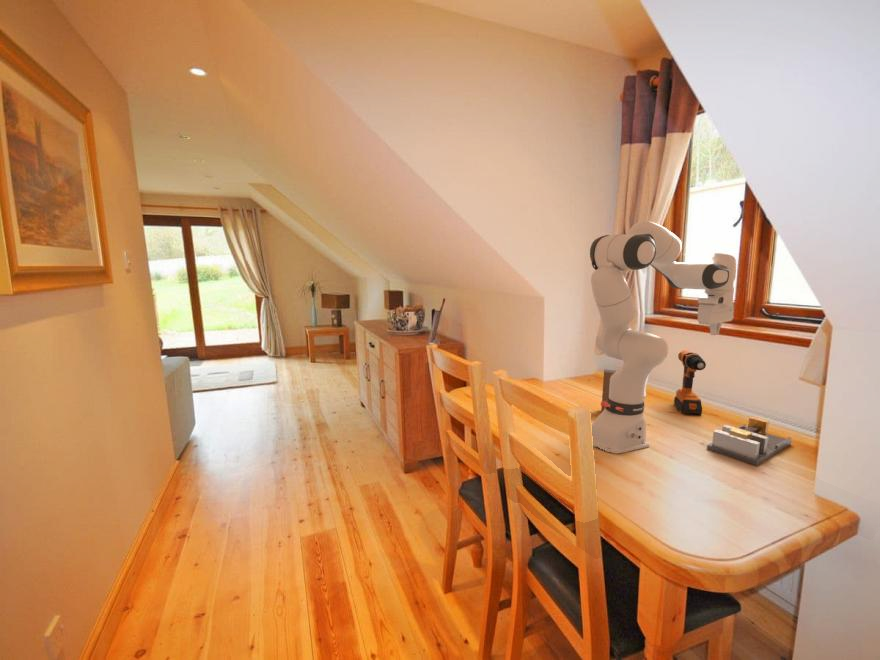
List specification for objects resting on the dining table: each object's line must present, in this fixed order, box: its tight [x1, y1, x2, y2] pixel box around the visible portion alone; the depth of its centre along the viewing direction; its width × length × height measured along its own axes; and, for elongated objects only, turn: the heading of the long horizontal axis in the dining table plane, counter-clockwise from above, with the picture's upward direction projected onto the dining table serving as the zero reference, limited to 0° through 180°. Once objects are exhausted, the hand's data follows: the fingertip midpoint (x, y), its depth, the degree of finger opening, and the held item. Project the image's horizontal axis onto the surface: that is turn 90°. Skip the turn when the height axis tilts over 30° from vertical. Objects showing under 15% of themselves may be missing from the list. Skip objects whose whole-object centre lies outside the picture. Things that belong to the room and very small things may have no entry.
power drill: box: [673, 349, 707, 415], centre depth 168 cm, size 22×7×25 cm, turn 165°
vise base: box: [706, 423, 792, 467], centre depth 137 cm, size 28×14×6 cm, turn 123°
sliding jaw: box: [721, 416, 770, 454], centre depth 137 cm, size 13×12×7 cm
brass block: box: [729, 426, 752, 440], centre depth 132 cm, size 4×5×6 cm
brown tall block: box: [600, 369, 617, 414], centre depth 167 cm, size 9×4×18 cm, turn 66°
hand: (714, 334), depth 152 cm, fingers closed
